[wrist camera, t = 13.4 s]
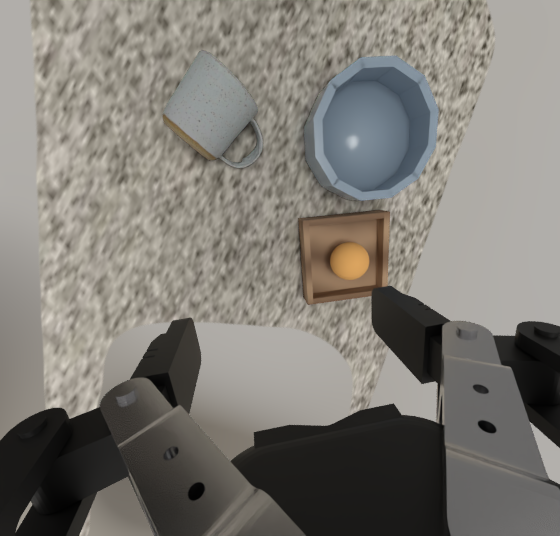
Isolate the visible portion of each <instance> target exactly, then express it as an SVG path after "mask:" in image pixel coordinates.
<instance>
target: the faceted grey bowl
mask: <svg viewBox="0 0 560 536" xmlns="http://www.w3.org/2000/svg"><path fill="white" fill-rule="evenodd" d="M438 111H439V110H438V107H437V104H436V102H435V99H434V97H433V95H432V92H431V90H430V87H429V85H428V82H427V80H426V77H425V75H423V74H422V73H420V72H419V71H417V70H416V69H415V68H413V67H412V66H410V65H409V64H407V63H406V62H405V61H403V60H402V59H400V58H399V57H397V56H378V57H361V58H359V59H358V60H357V61H355V62H354V63H353V64H351V65H350V66H349V67H347V68H346V69H345V70H343V71H342V72H341V73H339V74H338V75H337V76H335V77H334V78H333V79H331V80H330V81H329V83H328V84H327V85H326V86H325V87H324V89H323V90H322V91H321V92H320V94H319V95H318V96H317V99H316V101H315V103H314V105H313V108H312V110H311V112H310V114H309V117H308V119H307V121H306V124H305V126H304V140H305V159H306V162H307V164H308V165H309V167H310V169H311V170H312V172H313V174H314V175H315V177H316V179H317V180H318V182H319V184H320V185H321V187H323V188H325V189H327V190H329V191H331V192H333V193H335V194H337V195H339V196H341V197H343V198H345V199H350V200H359V201H362V200H372V199H382V198H391V197H393V196H394V195H396V194H397V193H398V192H400V191H401V190H403V189H404V188H405V187H407V186H408V185H410V184H411V183H412V182H414V181H415V180H417V179H418V178H419V176H420V174H421V173H422V171H423V169H424V167H425V165H426V163H427V162H428V160H429V158H430V156H431V154H432V153H433V151H434V149H435V147H436V136H437V124H438Z"/></svg>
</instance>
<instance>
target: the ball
mask: <svg viewBox="0 0 560 536" xmlns="http://www.w3.org/2000/svg"><path fill="white" fill-rule="evenodd" d="M330 265H331V268H332V270H333V272H334V273H335V274H336V275H337V276H338V277H340V278H342V279H345V280H354V279H357V278H359V277H361V276H362V275H363V274H364V273H365V272H366V271H367V269H368V266H369V256H368V253H367V251H366V250H365V249H364V247H362V246H361V245H359V244H357V243H354V242H346V243H342V244H340V245H339V246H337V247H336V248H335V249H334V250H333V252H332V254H331V258H330Z"/></svg>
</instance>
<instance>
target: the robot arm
mask: <svg viewBox="0 0 560 536" xmlns="http://www.w3.org/2000/svg"><path fill="white" fill-rule="evenodd" d="M371 296H372V325H373V328H374V330H375V332H376V334H377V335H378V336H379V337H380V338H381V339H382V340H383V341H384V342H385V344H386V345H387V346H388V347H389V348H390V349H391V350H392V351H393V352H394V353H395V355H396V356H397V357H398V358H399V359H400V360H401V361H402V362H403V364H404V365H405V366H406V367H407V368H408V369H409V370H410V371H411V372H412V374H413V375H414V376H415V377H416V378H417V379H418V380H419V381H420V382H421V384H424V383H429V382H434V381H436V382H437V383H438V385H437V408H436V422H434V421H431V420H428V419H424V418H420V417H416V416H408V415H401V413H400V412H399V411H398V409H397V408H396V406H395V405H394V404H389V405H385V406H379V407H374V408H370V409H365V410H360V411H358V412H356V413H354V414H352V415H350V416H348V417H346V418H344V419H342V420H340V421H338V422H336V423H334V424H331V425H328V426H310V425H309V426H308V425H306V426H305V425H287V426H283V427H277V428H272V429H268V430H263V431H258V432H254V446H252V447H250V448H249V449H247V450H245V451H243V452H242V453H240V454H239V455H237V456H236V457H235V458H234V459H232V460H231V461H230V460H229V459H228V458H227V457H226V456H225V455H224V454H223V452H222V451H221V450H220V449H219V448H218V447H217V446H216V445H215V444H214V442H213V441H212V440H211V439H210V438H209V437H208V436H207V434H206V433H205V432H204V431H203V430H202V429H201V428H200V426H199V425H198V424H197V423H196V422H195V421H194V420H193V419H192V417H191V416H190V415H189V412H190V408H191V404H192V400H193V395H194V391H195V387H196V382H197V378H198V374H199V369H200V365H201V352H200V347H199V343H198V339H197V334H196V330H195V326H194V322H193V320H192V318H186V319H180V320H174V321H172V323H171V325H170V327H169V328H168V331H167V332H166V333H165V334H161V335H159V336H158V337H157V338H156V339H155V340H153V341H152V342H151V344H150V346H149V347H148V349H147V352H146V353H145V354H144V356H143V359H142V360H141V361H140V363H139V365H138V367H137V368H136V370H135V372H134V373H133V375H132V377H131V378H130V380H127V381H125V382H122V383H121V384H119V385H117V386H115V387H114V388H112V389H111V390H110V391H109V392H107V393H106V394H105V396H104V397H103V398H102V400H101V402H100V407H99V408H96V409H94V410H91V411H89V412H86V413H84V414H81V415H79V416H76V417H74V418H71V419H69V417H68V415H67V413H66V411H65V410H64V409H62V408H51V409H47V410H44V411H41V412H39V413H37V414H34V415H32V416H30V417H28V418H27V419H25V420H24V421H22V422H20V423H19V424H17V425H16V426H15V427H14V428H12V429H11V430H10V431H9V432H8V433H7V434H6V435H5V436H4V437H3V438H2V439H1V440H0V536H79V534H80V532H81V530H82V527H83V525H84V522H85V520H86V518H87V515H88V513H89V510H90V508H91V506H92V503H93V501H94V499H95V496H96V494H97V492H98V491H100V490H102V489H104V488H106V487H108V486H110V485H112V484H114V483H116V482H118V481H120V480H122V479H124V478H126V477H128V478H129V480H130V483H131V485H132V487H133V489H134V492H135V494H136V496H137V498H138V501H139V503H140V505H141V507H142V510H143V512H144V514H145V516H146V519H147V521H148V523H149V525H150V528H151V530H152V532H153V535H154V536H560V484H558V483H555V482H554V481H552V480H550V479H549V477H548V475H547V473H546V470H545V467H544V464H543V461H542V458H541V455H540V452H539V449H538V446H537V443H536V440H535V437H534V434H533V431H532V428H531V425H530V422H531V423H532V424H533V425H534V426H535V427H537V428H538V429H539V430H540V431H541V432H542V433H543V434H544V435H546V436H547V437H548V438H549V439H550V440H551V441H552V442H554V443H555V444H556V445H557V446H558V447H559V448H560V326H556V325H553V324H549V323H544V322H535V321H534V322H532V321H531V322H530V321H528V322H522V323H520V324H518V325H517V330H516V335H515V336H493V335H492V333H491V332H490V331H489V330H488V329H486V328H485V327H483V326H481V325H478V324H475V323H471V322H466V321H450V320H448V319H446V318H445V317H444V316H442V315H441V314H439V313H437V312H436V311H434V310H433V309H431V308H430V307H428V306H427V305H424V304H423V303H422V302H420V301H419V300H418V299H416V298H414V297H411V296H408V295H405V294H402V293H401V292H399V291H398V290H396V289H395V288H393V287H392V286H385V287H379V288H374V289H373V290H372V295H371ZM529 421H530V422H529ZM30 501H31V502H32V504H33V505H32V507H31V508H30V510H29V512H28V513H27V515H26V517H25V518H24V520H23V521H22V523H21V525H20V526H19V528H18V530H17V531H16V527H17V524H18V522H19V519H20V517H21V515H22V514H23V512H24V510H25V509H26V507H27V505H28V504H29V502H30ZM15 532H16V533H15Z"/></svg>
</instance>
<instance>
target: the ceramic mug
mask: <svg viewBox="0 0 560 536" xmlns="http://www.w3.org/2000/svg"><path fill="white" fill-rule="evenodd" d="M257 112H258V107H257V104H256V102H255V101H254V99H253V98H252V96H251V95H250V93H249V92H248V91H247V90H246V88H245V87H244V86H243V84H242V83H241V82H240V81H239V80H238V78H237V77H235V75H234V74H233V73H232V72H231V71H230V70H229V69H228V68H227V67H226V66H225V65H224V64H222V63H221V62H220V61H219V60H218V59H217V58H216V57H215V56H214V55H212V54H211V53H209V52H207V51H204V50H201V51H200V52H199V53H198V55H197V57H196V58H195V60H194V62H193V63H192V65H191V66H190V68H189V70H188V71H187V73H186V74H185V76H184V77H183V79H182V81H181V82H180V84H179V86H178V87H177V89H176V90H175V92H174V93H173V95H172V96H171V98H170V100H169V101H168V103H167V105H166V107H165V110H164V112H163V120H164V123H165V124H166V125H167V126H168V127H169V128H170V129H171V130H173V131H174V132H175V133H176V134H177V135H178V136H179V137H180V138H182V139H183V140H184V141H185V142H186V143H188V144H189V145H190V146H191V147H193V148H194V149H195V150H196V151H197V152H199V153H200V154H201V155H202V156H204V157H205V158H206V159H208V160H216V159H217V158H220V159H221V160H223V161H224V162H225V163H227V164H228V165H230V166H233V167H236V168H243V167H247V166H249V165H251V164H252V163H254V162H255V160H256V159H257V158H258V157H259V155H260V154H261V152H262V148H263V138H262V134H261V131H260V128H259V126H258V124H257V123H256V121H255V120H254V116H255V115H256V113H257ZM249 122H250V123H251V124H252V126H253V128H254V130H255V133H256V136H257V145H256V147H255V149H254V150H253V151H252V152H251V153H250V154H249V155H248V156H247V157H246V158H243V160H242V162H239V163H238V162H231V161H230V160H227V159H226V158H224V157H223V155H222V154H223V153H224V152H225V151H226V150H227V148H228V147H229V146H230V144H231V143H232V142H233V141H234V139H235V138H236V137H237V136H238V135H239V133H240V132H241V131H242V130H243V129H244V128H245V126H246V125H247V124H248V123H249Z"/></svg>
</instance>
